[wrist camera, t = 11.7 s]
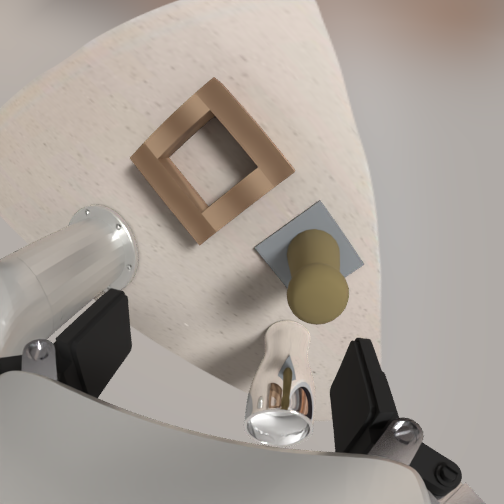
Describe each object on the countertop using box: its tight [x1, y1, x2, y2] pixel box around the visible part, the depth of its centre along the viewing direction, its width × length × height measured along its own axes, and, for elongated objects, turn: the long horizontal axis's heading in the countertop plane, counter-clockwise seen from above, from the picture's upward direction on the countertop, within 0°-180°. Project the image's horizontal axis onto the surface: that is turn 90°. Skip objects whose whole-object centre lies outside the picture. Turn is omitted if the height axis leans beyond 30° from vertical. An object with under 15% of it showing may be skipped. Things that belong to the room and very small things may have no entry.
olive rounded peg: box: [287, 229, 349, 325], centre depth 27 cm, size 6×6×11 cm
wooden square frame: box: [130, 77, 295, 245], centre depth 29 cm, size 13×13×3 cm
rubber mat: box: [255, 201, 364, 289], centre depth 33 cm, size 9×9×1 cm
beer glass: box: [244, 320, 316, 447], centre depth 30 cm, size 7×7×15 cm
